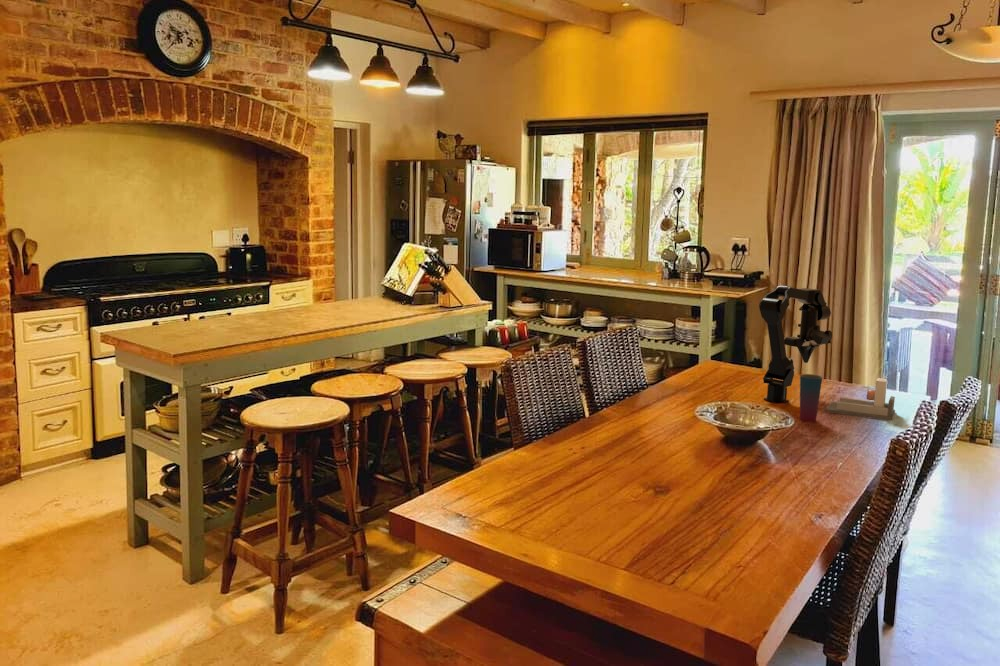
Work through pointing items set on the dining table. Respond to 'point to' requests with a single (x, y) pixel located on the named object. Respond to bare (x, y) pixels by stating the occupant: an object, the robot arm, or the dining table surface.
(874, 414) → the station
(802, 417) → the cup
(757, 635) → the dining table surface
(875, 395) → the plug
